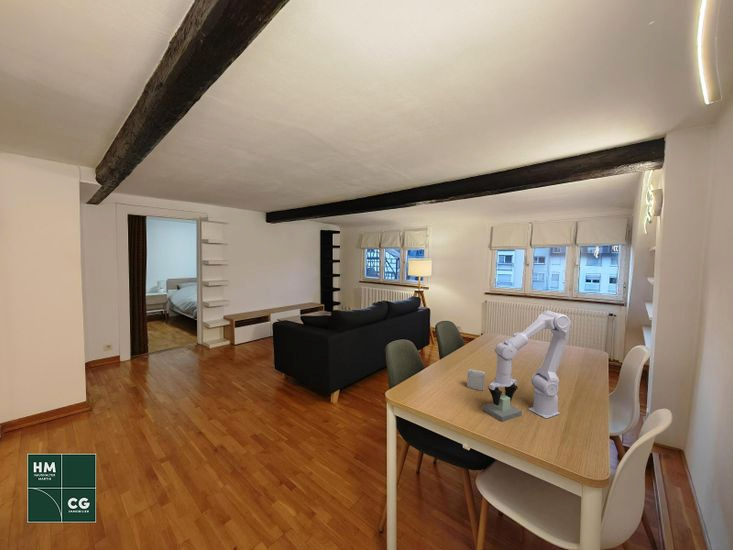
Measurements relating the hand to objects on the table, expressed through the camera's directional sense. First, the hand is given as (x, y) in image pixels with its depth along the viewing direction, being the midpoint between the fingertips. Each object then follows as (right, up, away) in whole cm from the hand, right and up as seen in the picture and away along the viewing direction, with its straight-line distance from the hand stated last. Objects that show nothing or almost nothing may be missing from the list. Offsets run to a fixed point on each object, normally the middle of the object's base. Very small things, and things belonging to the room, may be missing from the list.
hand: (502, 402), depth 122 cm
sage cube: (0, -2, 0) cm, 2 cm away
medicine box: (-2, -3, +24) cm, 24 cm away
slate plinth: (0, -4, 0) cm, 4 cm away
